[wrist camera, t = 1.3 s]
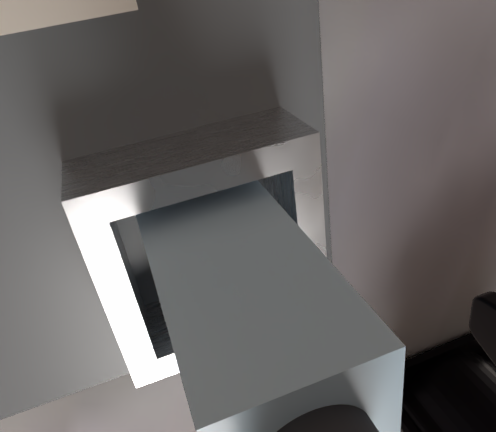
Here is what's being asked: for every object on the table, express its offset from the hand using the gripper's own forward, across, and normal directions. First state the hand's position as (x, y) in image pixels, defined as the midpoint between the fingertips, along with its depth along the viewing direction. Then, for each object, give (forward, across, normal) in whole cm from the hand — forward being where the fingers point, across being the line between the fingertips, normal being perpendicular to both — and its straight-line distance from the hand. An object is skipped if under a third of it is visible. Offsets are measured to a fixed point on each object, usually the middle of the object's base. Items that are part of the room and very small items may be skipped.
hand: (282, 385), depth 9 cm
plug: (+6, 0, 0) cm, 7 cm away
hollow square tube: (+6, 0, 0) cm, 7 cm away
